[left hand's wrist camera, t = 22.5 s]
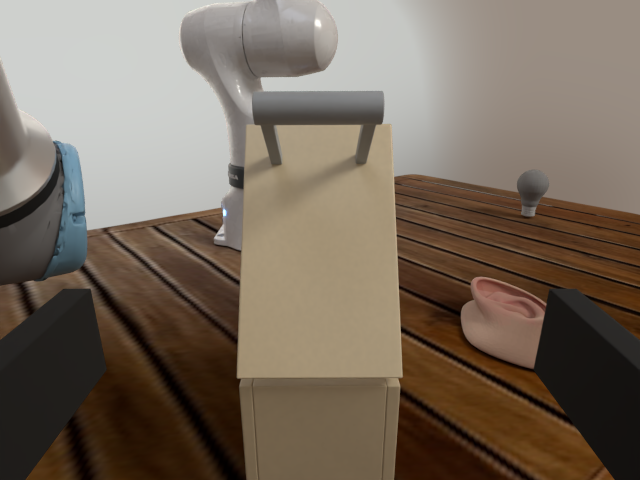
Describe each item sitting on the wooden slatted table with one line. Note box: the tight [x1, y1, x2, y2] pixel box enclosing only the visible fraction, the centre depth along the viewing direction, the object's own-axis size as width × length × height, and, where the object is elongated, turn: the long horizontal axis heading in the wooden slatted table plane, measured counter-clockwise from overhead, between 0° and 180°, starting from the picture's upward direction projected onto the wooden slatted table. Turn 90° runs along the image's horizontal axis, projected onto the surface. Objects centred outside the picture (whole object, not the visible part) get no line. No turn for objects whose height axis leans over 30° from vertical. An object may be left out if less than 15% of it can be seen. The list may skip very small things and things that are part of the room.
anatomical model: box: [461, 277, 546, 369], centre depth 49 cm, size 13×4×12 cm
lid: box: [237, 91, 403, 379], centre depth 24 cm, size 16×10×8 cm
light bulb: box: [517, 170, 549, 217], centre depth 91 cm, size 6×6×10 cm
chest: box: [239, 378, 400, 480], centre depth 35 cm, size 16×10×10 cm, turn 0°
